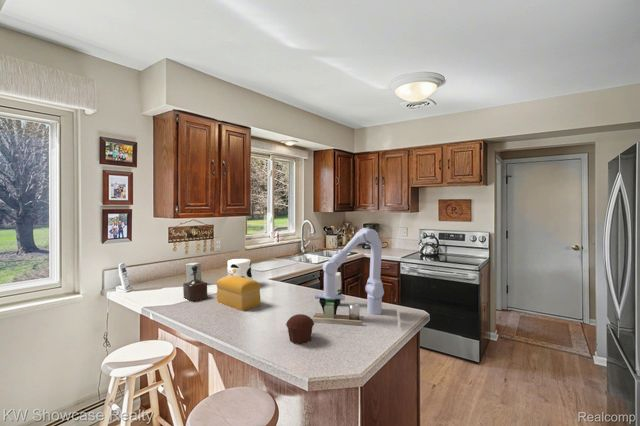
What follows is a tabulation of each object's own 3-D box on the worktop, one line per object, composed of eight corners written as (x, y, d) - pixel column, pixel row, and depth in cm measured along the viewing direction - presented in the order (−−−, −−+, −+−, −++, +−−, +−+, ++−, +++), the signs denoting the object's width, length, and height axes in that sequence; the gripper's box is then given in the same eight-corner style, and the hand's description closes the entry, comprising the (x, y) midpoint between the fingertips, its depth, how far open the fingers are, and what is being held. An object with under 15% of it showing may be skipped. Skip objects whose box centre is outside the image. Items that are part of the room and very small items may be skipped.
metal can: (349, 317, 155) (349, 302, 154) (360, 317, 154) (360, 303, 153) (348, 320, 150) (348, 306, 150) (359, 321, 149) (359, 306, 148)
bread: (216, 302, 183) (215, 276, 183) (235, 297, 193) (235, 272, 193) (241, 311, 167) (241, 283, 167) (261, 305, 177) (260, 278, 177)
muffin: (314, 333, 138) (314, 311, 138) (314, 345, 127) (314, 320, 127) (286, 334, 138) (286, 311, 137) (284, 345, 127) (284, 320, 126)
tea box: (324, 318, 153) (324, 306, 152) (326, 314, 159) (326, 302, 158) (333, 319, 152) (333, 306, 152) (335, 315, 158) (335, 303, 157)
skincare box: (202, 285, 220) (201, 262, 220) (193, 288, 214) (192, 264, 214) (194, 284, 225) (194, 261, 224) (185, 286, 219) (185, 263, 218)
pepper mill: (209, 298, 192) (208, 268, 191) (191, 302, 183) (190, 271, 183) (196, 293, 202) (196, 264, 202) (179, 296, 194) (178, 267, 193)
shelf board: (315, 315, 161) (315, 309, 161) (363, 318, 156) (363, 312, 156) (309, 324, 149) (309, 317, 149) (361, 328, 144) (361, 321, 144)
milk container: (221, 289, 211) (220, 262, 211) (235, 283, 228) (235, 257, 227) (244, 291, 206) (243, 263, 206) (257, 284, 223) (256, 259, 222)
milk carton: (326, 302, 181) (326, 267, 181) (342, 303, 180) (342, 268, 179) (323, 307, 173) (323, 270, 172) (340, 308, 171) (339, 271, 170)
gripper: (313, 287, 152) (313, 315, 153) (343, 289, 149) (343, 317, 150) (316, 284, 159) (316, 311, 160) (345, 285, 156) (345, 312, 157)
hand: (329, 314), depth 155 cm, fingers open, 4 cm apart
